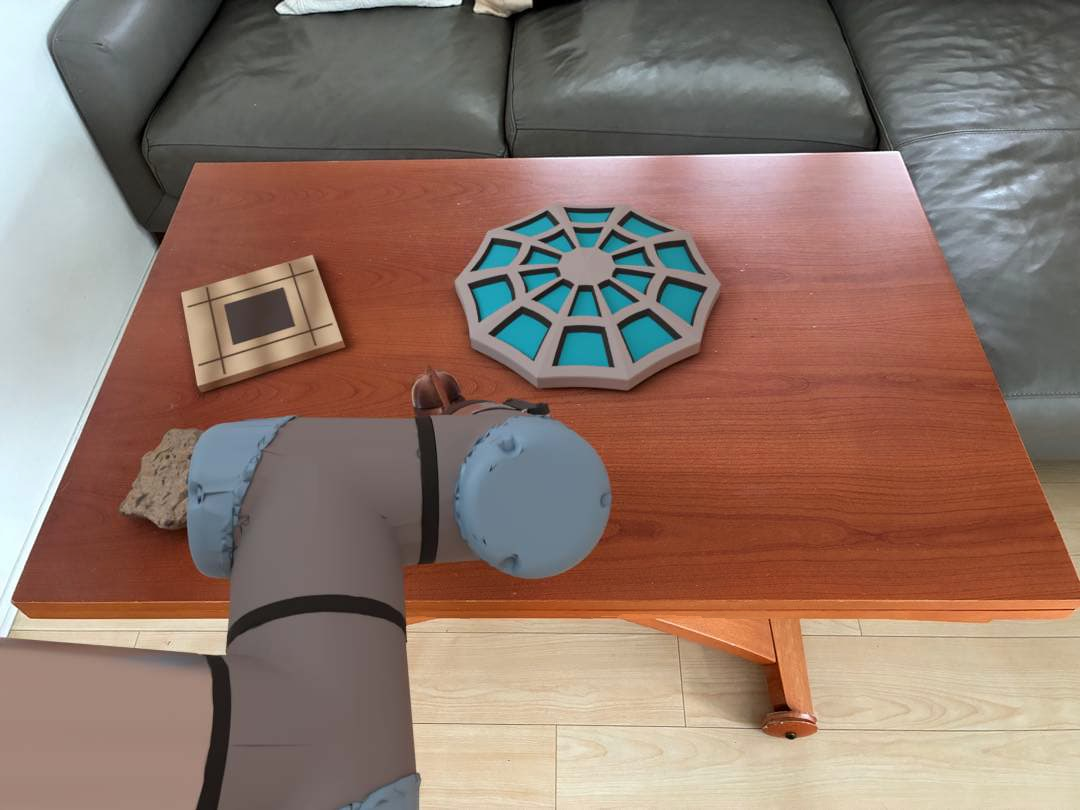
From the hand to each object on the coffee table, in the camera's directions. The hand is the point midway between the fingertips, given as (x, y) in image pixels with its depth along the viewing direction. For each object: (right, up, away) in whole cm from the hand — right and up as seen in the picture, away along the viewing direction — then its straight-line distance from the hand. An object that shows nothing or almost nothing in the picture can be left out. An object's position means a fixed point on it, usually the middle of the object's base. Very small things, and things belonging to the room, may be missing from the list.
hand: (441, 426), depth 72 cm
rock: (-24, -7, +3) cm, 25 cm away
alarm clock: (+2, -6, +2) cm, 7 cm away
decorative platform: (+15, +15, +18) cm, 27 cm away
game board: (-23, +12, +17) cm, 31 cm away
